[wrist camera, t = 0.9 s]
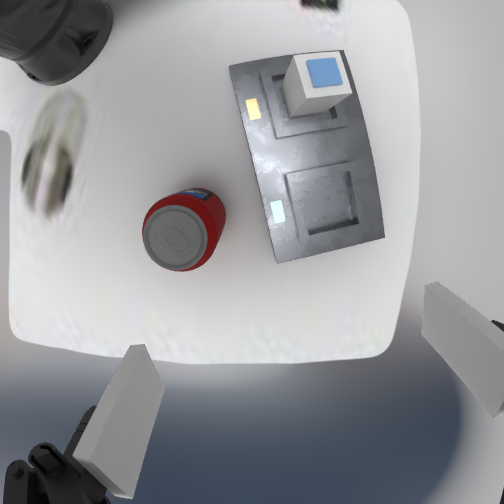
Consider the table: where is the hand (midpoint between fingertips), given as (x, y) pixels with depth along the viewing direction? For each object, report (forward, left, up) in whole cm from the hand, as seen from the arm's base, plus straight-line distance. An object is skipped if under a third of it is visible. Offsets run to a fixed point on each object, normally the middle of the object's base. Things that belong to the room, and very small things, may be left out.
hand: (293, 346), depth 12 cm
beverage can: (-4, -7, -24) cm, 25 cm away
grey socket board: (-8, +8, -24) cm, 26 cm away
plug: (-14, +8, -22) cm, 27 cm away
